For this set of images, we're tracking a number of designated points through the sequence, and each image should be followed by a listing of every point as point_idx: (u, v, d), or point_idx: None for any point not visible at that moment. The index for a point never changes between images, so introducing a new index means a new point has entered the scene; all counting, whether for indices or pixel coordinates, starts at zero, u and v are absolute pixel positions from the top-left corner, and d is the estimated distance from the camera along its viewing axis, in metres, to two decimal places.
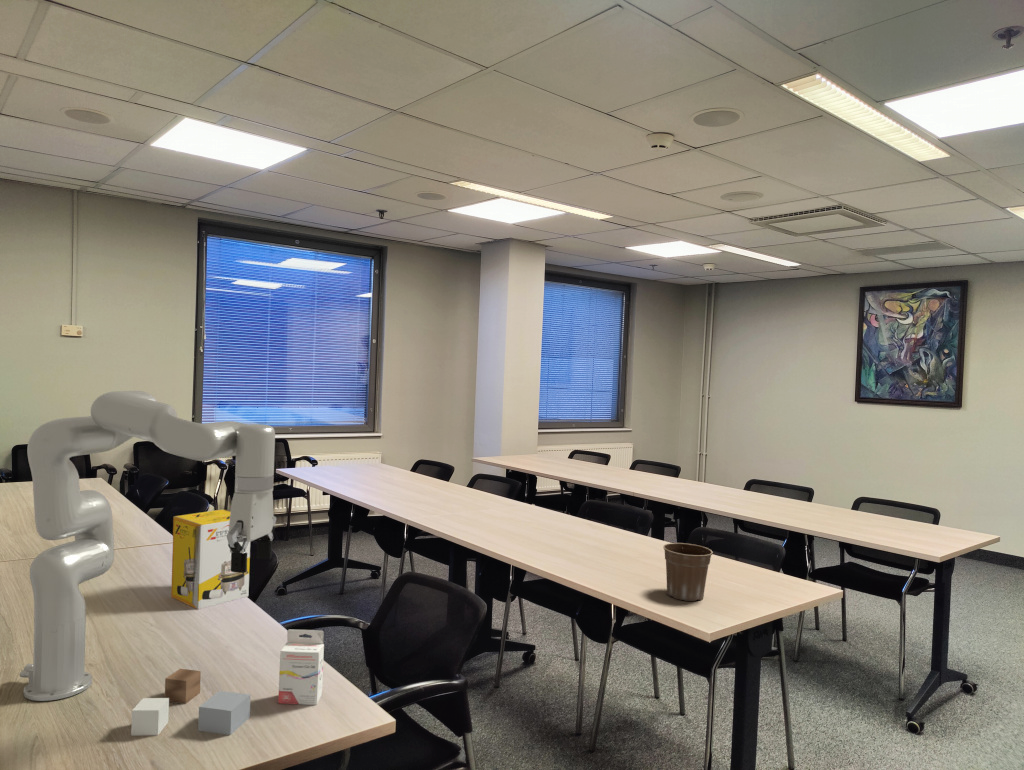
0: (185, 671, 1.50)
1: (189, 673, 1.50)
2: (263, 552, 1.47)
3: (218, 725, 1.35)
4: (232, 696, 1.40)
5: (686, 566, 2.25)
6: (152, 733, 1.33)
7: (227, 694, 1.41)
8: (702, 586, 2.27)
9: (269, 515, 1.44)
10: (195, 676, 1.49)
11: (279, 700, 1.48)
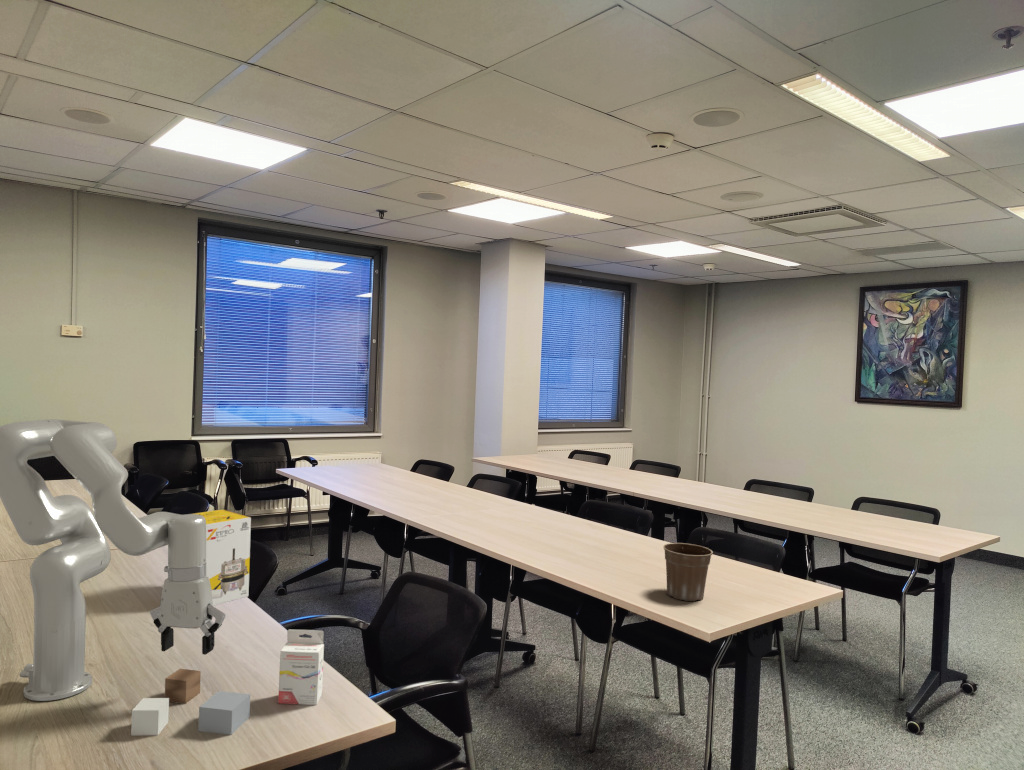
0: (185, 671, 1.50)
1: (189, 673, 1.50)
2: (169, 641, 1.50)
3: (218, 724, 1.35)
4: (232, 696, 1.40)
5: (686, 566, 2.25)
6: (152, 733, 1.33)
7: (227, 694, 1.41)
8: (702, 586, 2.27)
9: None
10: (195, 676, 1.49)
11: (279, 700, 1.48)
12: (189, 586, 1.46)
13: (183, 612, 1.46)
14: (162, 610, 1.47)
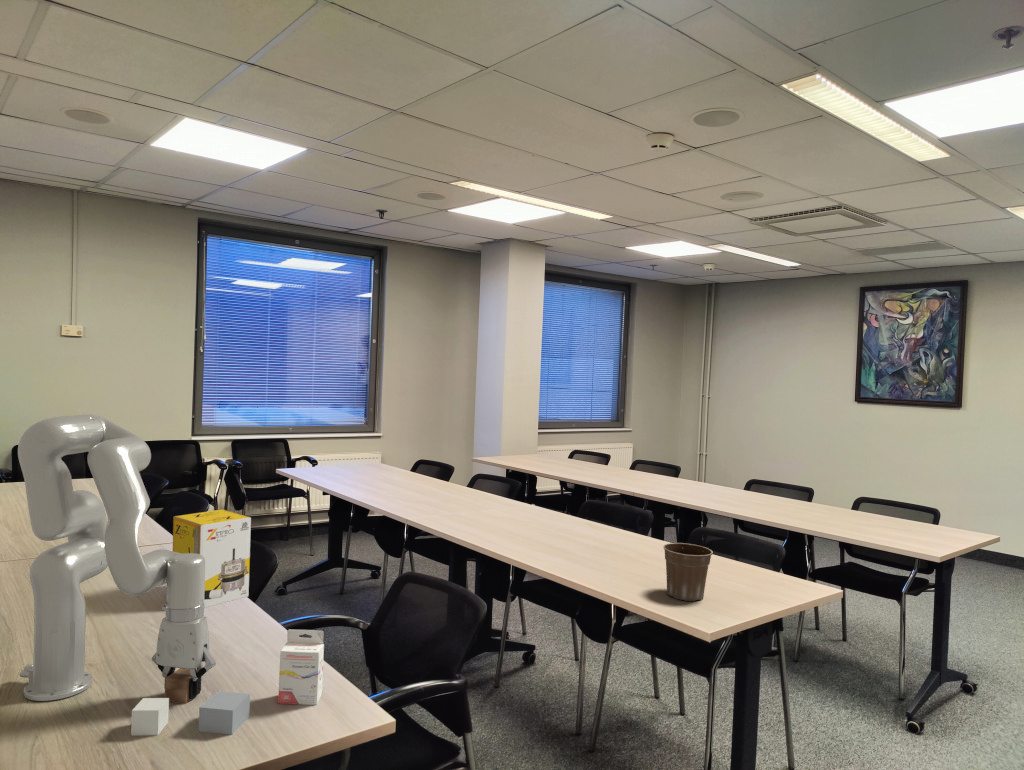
0: (185, 671, 1.50)
1: (189, 672, 1.50)
2: None
3: (219, 724, 1.35)
4: (232, 696, 1.40)
5: (686, 566, 2.25)
6: (152, 733, 1.33)
7: (226, 694, 1.41)
8: (702, 586, 2.27)
9: None
10: None
11: (279, 700, 1.48)
12: (186, 627, 1.46)
13: (179, 652, 1.46)
14: (158, 649, 1.47)
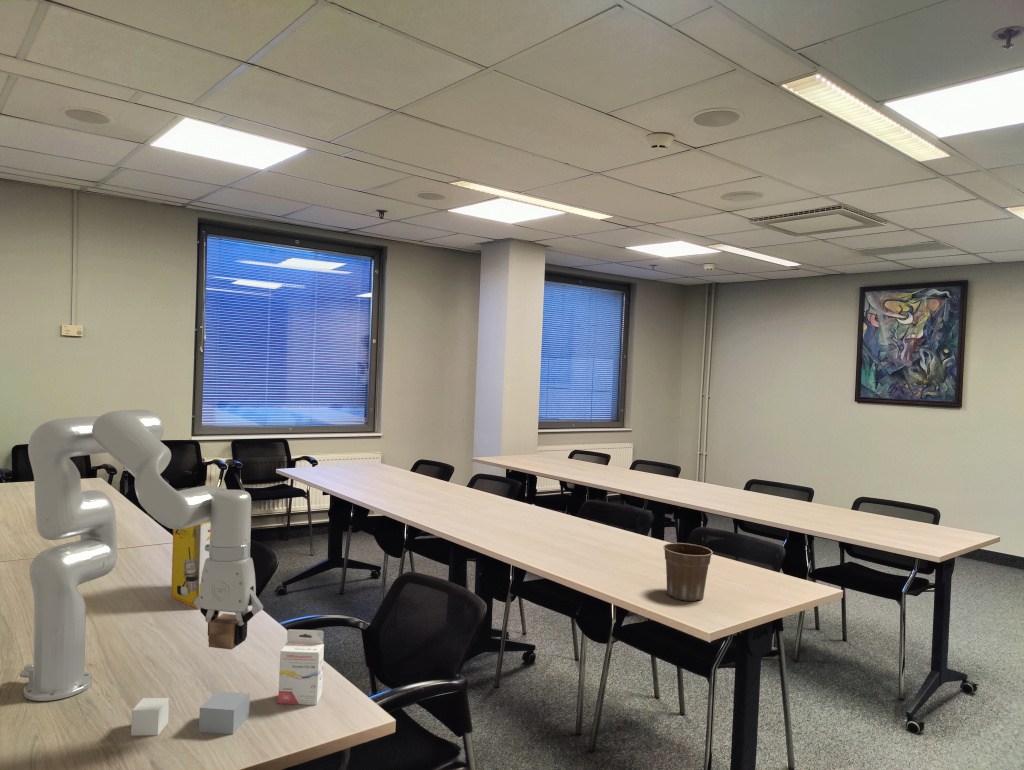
0: (230, 616, 1.40)
1: (233, 617, 1.39)
2: None
3: (220, 724, 1.35)
4: (231, 696, 1.40)
5: (686, 566, 2.25)
6: (152, 733, 1.33)
7: (226, 695, 1.41)
8: (702, 586, 2.27)
9: None
10: None
11: (279, 700, 1.48)
12: (232, 566, 1.35)
13: (225, 594, 1.35)
14: (202, 591, 1.36)
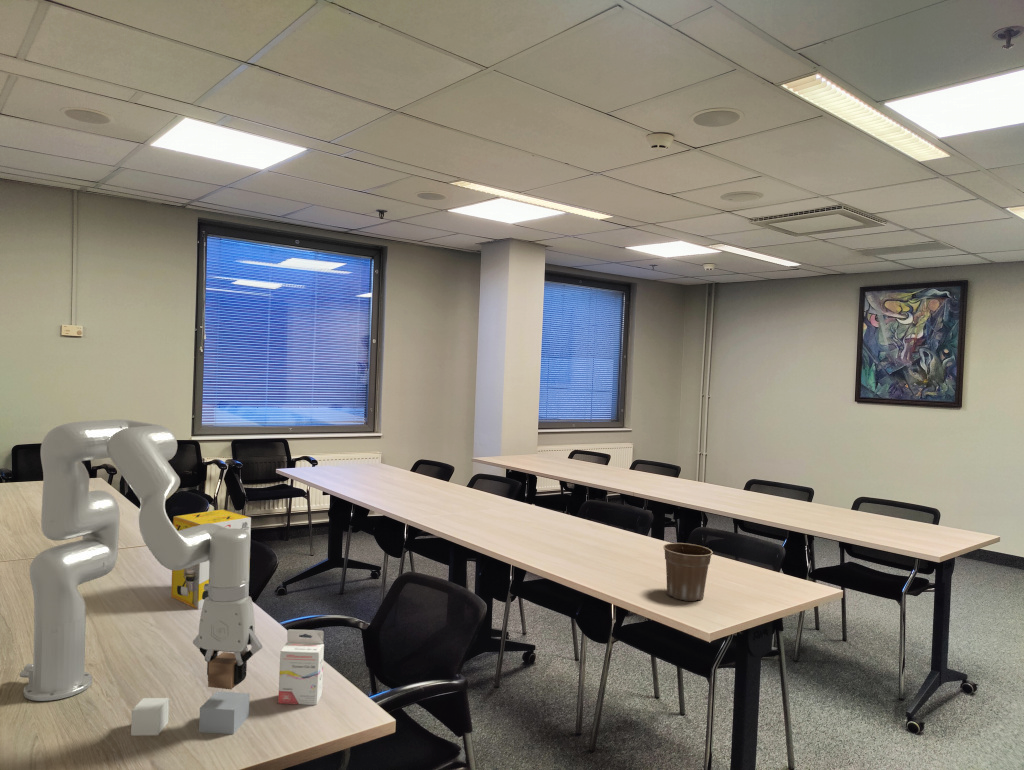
0: (229, 655, 1.40)
1: (233, 656, 1.39)
2: None
3: (220, 724, 1.35)
4: (231, 696, 1.40)
5: (686, 566, 2.25)
6: (152, 733, 1.33)
7: (225, 695, 1.41)
8: (702, 586, 2.27)
9: None
10: None
11: (279, 700, 1.48)
12: (231, 606, 1.35)
13: (224, 634, 1.35)
14: (201, 631, 1.36)
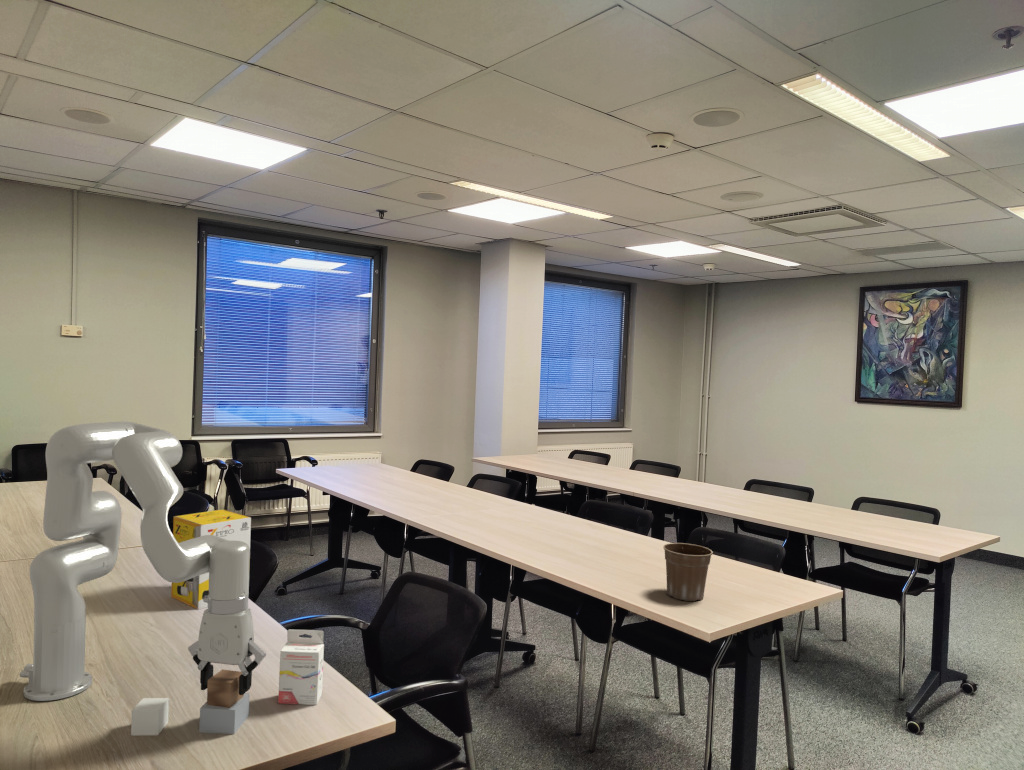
0: (228, 672, 1.40)
1: (232, 674, 1.39)
2: None
3: (221, 725, 1.35)
4: None
5: (686, 566, 2.25)
6: (152, 733, 1.33)
7: None
8: (702, 586, 2.27)
9: None
10: None
11: (279, 700, 1.48)
12: (230, 619, 1.35)
13: (223, 647, 1.36)
14: (200, 644, 1.36)
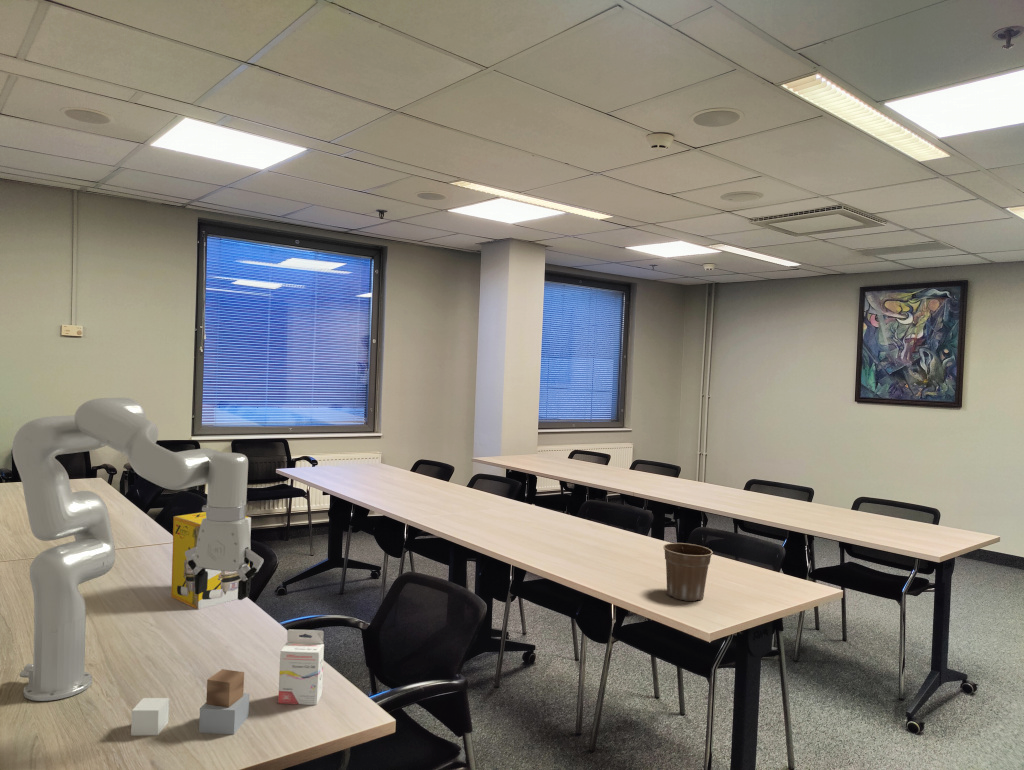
0: (228, 672, 1.40)
1: (232, 674, 1.39)
2: (203, 584, 1.42)
3: (220, 725, 1.35)
4: None
5: (686, 566, 2.25)
6: (152, 733, 1.33)
7: None
8: (702, 586, 2.27)
9: None
10: (239, 678, 1.39)
11: (279, 700, 1.48)
12: (227, 527, 1.38)
13: (220, 554, 1.38)
14: (198, 551, 1.39)
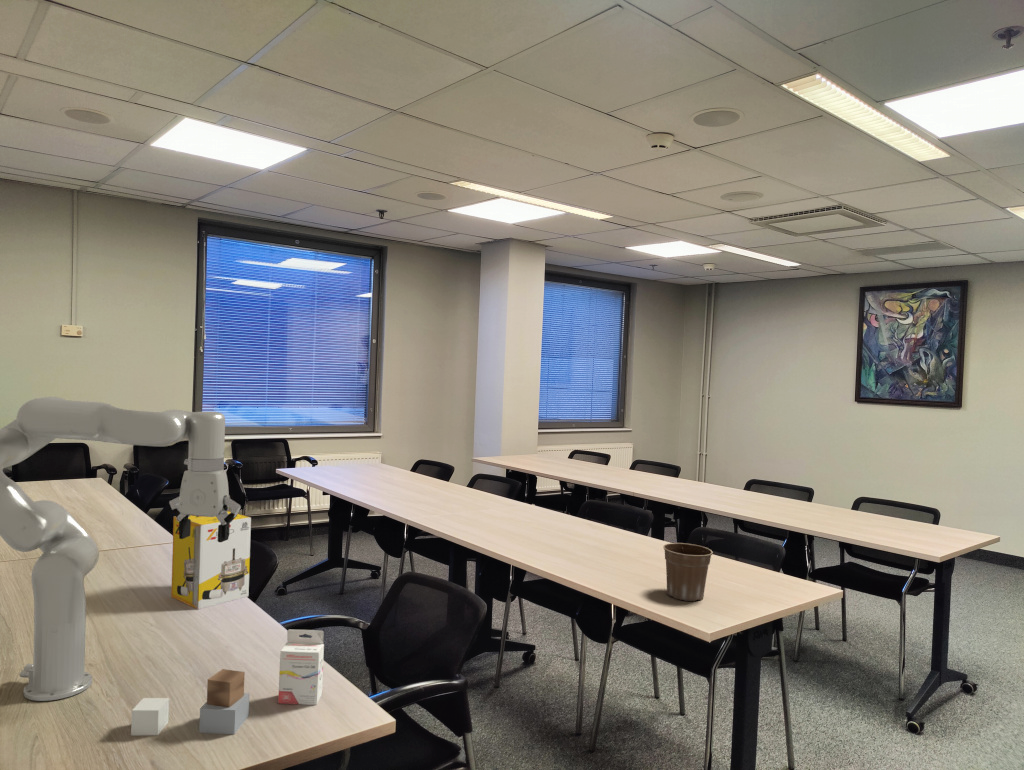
0: (228, 672, 1.40)
1: (232, 674, 1.40)
2: (186, 530, 1.58)
3: (221, 725, 1.35)
4: None
5: (686, 566, 2.25)
6: (152, 733, 1.33)
7: None
8: (702, 586, 2.27)
9: None
10: (239, 677, 1.39)
11: (279, 700, 1.48)
12: (207, 476, 1.54)
13: (201, 501, 1.54)
14: (181, 499, 1.55)
